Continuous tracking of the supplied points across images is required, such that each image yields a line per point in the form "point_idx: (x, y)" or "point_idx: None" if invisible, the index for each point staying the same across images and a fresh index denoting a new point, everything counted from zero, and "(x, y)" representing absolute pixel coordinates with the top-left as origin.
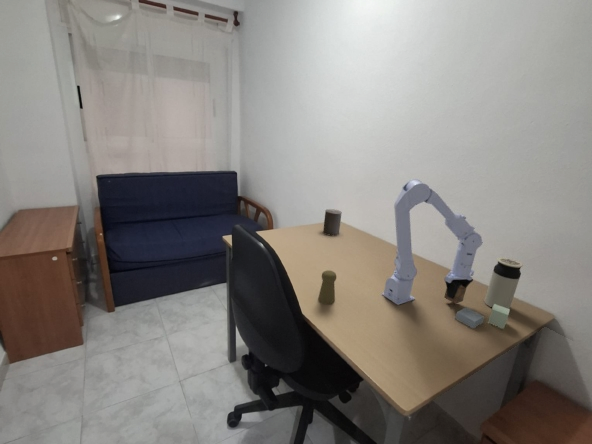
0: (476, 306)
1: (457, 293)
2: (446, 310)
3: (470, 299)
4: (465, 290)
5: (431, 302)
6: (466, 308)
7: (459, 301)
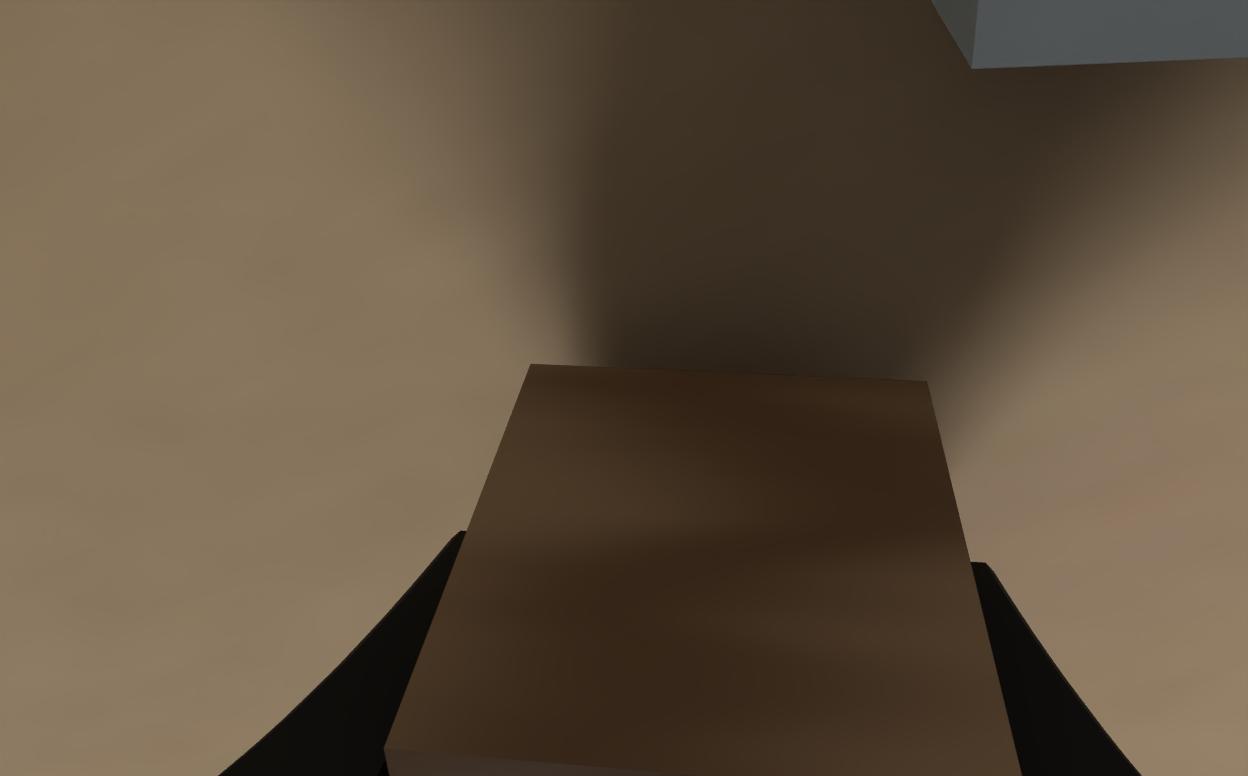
0: (160, 68)
1: (985, 677)
2: (1229, 344)
3: (45, 336)
4: (444, 645)
5: (1155, 671)
6: (1068, 10)
7: (721, 390)
